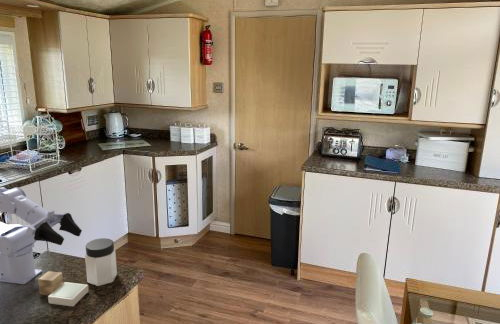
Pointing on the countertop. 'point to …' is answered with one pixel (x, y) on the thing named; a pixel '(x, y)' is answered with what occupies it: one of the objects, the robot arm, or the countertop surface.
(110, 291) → the countertop surface
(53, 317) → the countertop surface
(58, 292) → the tile base
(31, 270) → the robot arm
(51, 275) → the oak block
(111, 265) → the jar
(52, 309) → the countertop surface
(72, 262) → the countertop surface
